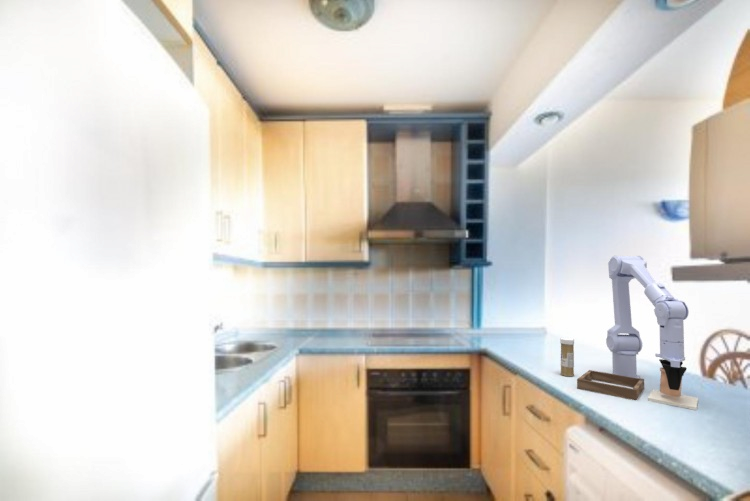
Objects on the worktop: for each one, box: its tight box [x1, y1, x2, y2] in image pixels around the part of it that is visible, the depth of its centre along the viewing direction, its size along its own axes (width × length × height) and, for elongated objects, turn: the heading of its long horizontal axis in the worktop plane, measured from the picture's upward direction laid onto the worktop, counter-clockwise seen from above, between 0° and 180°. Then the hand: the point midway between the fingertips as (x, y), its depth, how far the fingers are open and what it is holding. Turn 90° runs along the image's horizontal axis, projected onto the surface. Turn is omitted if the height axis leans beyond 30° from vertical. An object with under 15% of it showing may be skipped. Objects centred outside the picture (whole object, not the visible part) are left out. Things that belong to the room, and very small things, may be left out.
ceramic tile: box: [647, 389, 699, 411], centre depth 112 cm, size 11×11×1 cm
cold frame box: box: [576, 369, 645, 401], centre depth 123 cm, size 16×16×3 cm
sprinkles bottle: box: [559, 337, 575, 377], centre depth 139 cm, size 5×5×14 cm
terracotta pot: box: [659, 366, 685, 397], centre depth 113 cm, size 6×6×7 cm
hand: (672, 386), depth 113 cm, fingers closed on terracotta pot, 5 cm apart
